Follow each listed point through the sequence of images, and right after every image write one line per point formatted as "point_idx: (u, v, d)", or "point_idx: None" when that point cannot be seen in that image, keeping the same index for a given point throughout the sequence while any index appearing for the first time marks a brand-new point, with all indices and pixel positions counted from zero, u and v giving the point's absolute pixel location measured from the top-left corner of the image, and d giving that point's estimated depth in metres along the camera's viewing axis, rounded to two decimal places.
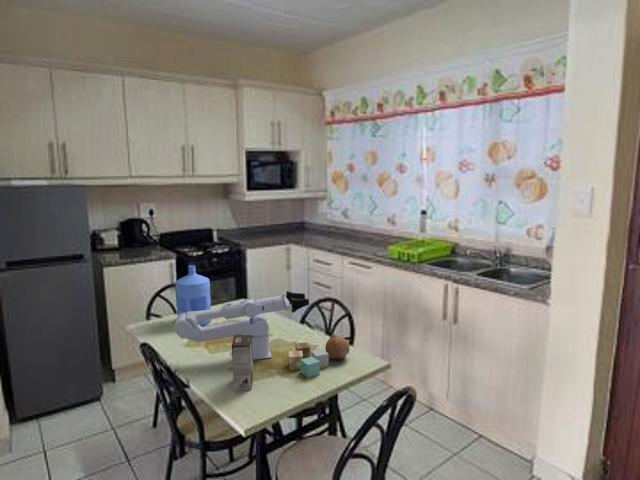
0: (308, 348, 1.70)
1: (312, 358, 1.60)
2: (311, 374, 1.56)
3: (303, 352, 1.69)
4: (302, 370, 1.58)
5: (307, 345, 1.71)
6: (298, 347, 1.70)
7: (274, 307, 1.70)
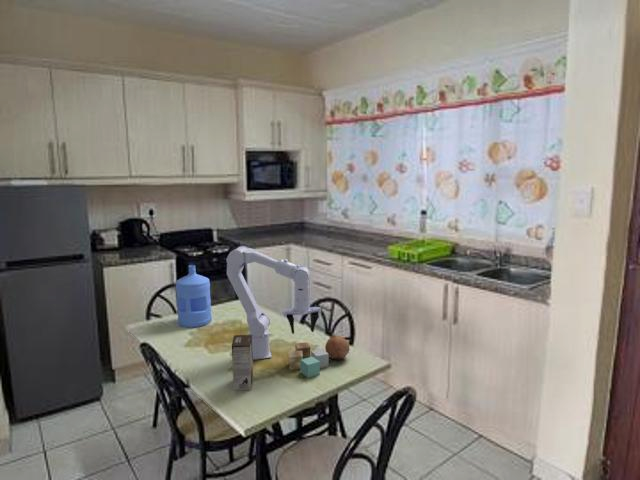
0: (308, 348, 1.70)
1: (312, 358, 1.60)
2: (311, 374, 1.56)
3: (303, 352, 1.69)
4: (302, 370, 1.58)
5: (307, 345, 1.71)
6: (298, 347, 1.70)
7: None
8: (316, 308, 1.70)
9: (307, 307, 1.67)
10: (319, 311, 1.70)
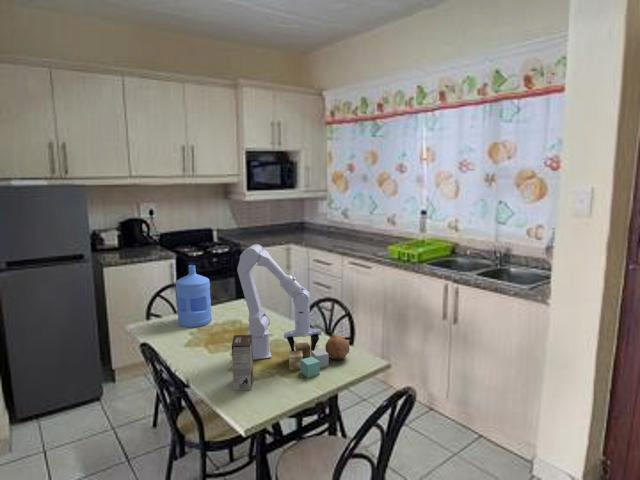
0: (308, 348, 1.70)
1: (312, 358, 1.60)
2: (311, 374, 1.56)
3: (303, 352, 1.69)
4: (302, 370, 1.58)
5: (307, 345, 1.71)
6: (298, 347, 1.70)
7: (295, 321, 1.70)
8: (316, 330, 1.72)
9: (307, 329, 1.69)
10: (319, 333, 1.71)
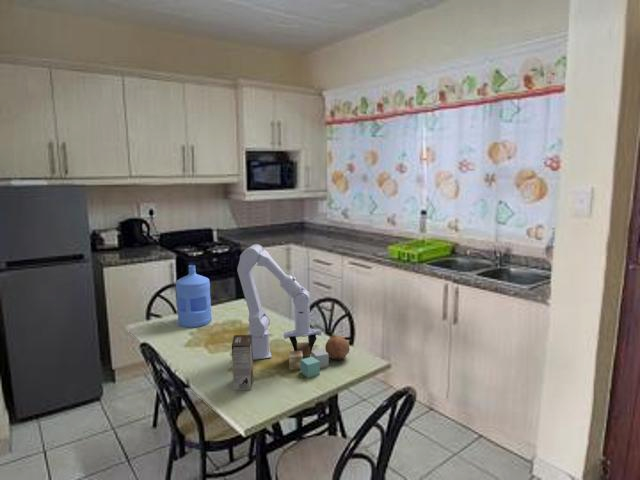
0: (308, 348, 1.70)
1: (312, 358, 1.60)
2: (311, 374, 1.56)
3: (303, 352, 1.69)
4: (302, 370, 1.58)
5: (307, 345, 1.71)
6: (298, 347, 1.70)
7: (295, 321, 1.70)
8: (316, 330, 1.72)
9: (307, 329, 1.69)
10: (319, 333, 1.71)
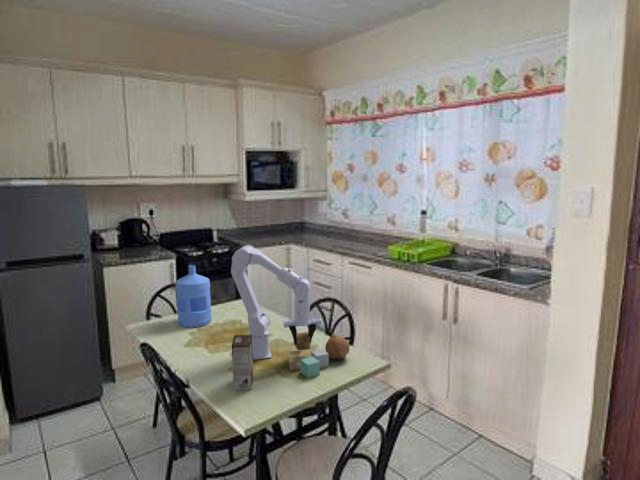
0: (308, 338, 1.69)
1: (312, 358, 1.60)
2: (311, 374, 1.56)
3: (303, 342, 1.69)
4: (302, 370, 1.58)
5: (307, 335, 1.71)
6: (298, 337, 1.69)
7: None
8: (316, 320, 1.71)
9: (307, 319, 1.68)
10: (319, 323, 1.71)
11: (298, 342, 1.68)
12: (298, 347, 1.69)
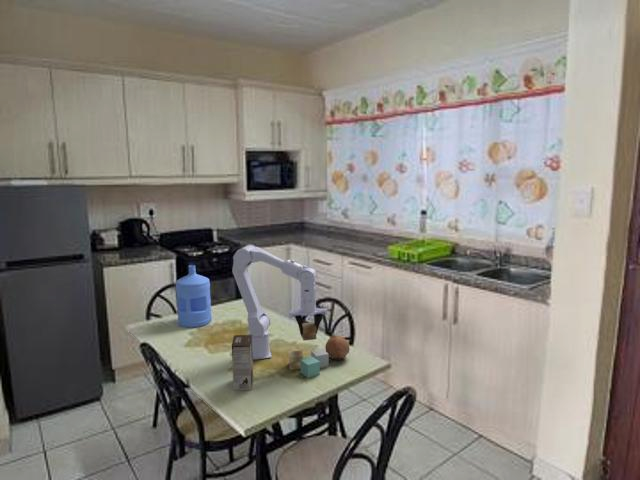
0: (314, 327, 1.67)
1: (312, 358, 1.60)
2: (311, 374, 1.56)
3: (309, 332, 1.66)
4: (302, 370, 1.58)
5: (313, 325, 1.69)
6: (304, 326, 1.67)
7: None
8: (322, 309, 1.69)
9: (313, 308, 1.66)
10: (325, 312, 1.68)
11: (304, 332, 1.66)
12: (304, 337, 1.66)
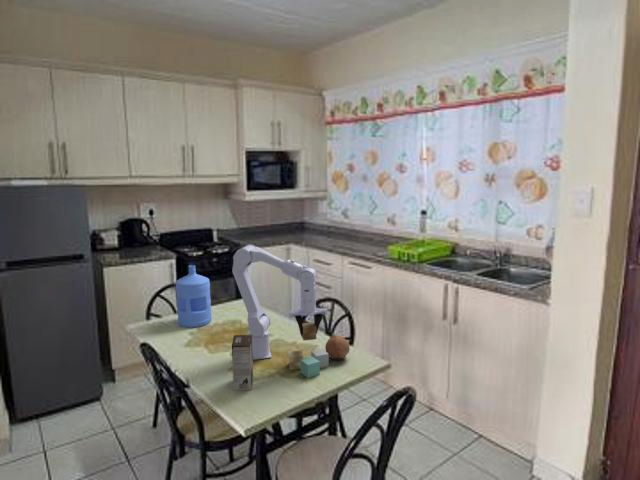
0: (314, 327, 1.67)
1: (312, 358, 1.60)
2: (311, 374, 1.56)
3: (309, 332, 1.66)
4: (302, 370, 1.58)
5: (313, 325, 1.69)
6: (304, 326, 1.67)
7: None
8: (322, 309, 1.69)
9: (313, 308, 1.66)
10: (325, 312, 1.68)
11: (304, 332, 1.66)
12: (304, 337, 1.66)
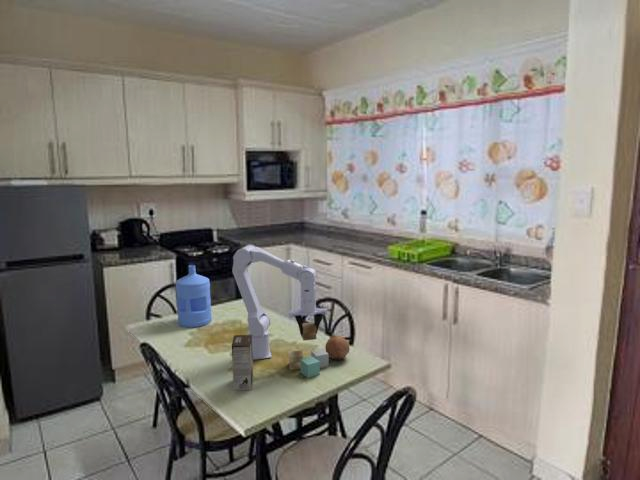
0: (314, 327, 1.67)
1: (312, 358, 1.60)
2: (311, 374, 1.56)
3: (309, 332, 1.66)
4: (302, 370, 1.58)
5: (313, 325, 1.69)
6: (304, 326, 1.67)
7: None
8: (322, 309, 1.69)
9: (313, 308, 1.66)
10: (325, 312, 1.68)
11: (304, 332, 1.66)
12: (304, 337, 1.66)
